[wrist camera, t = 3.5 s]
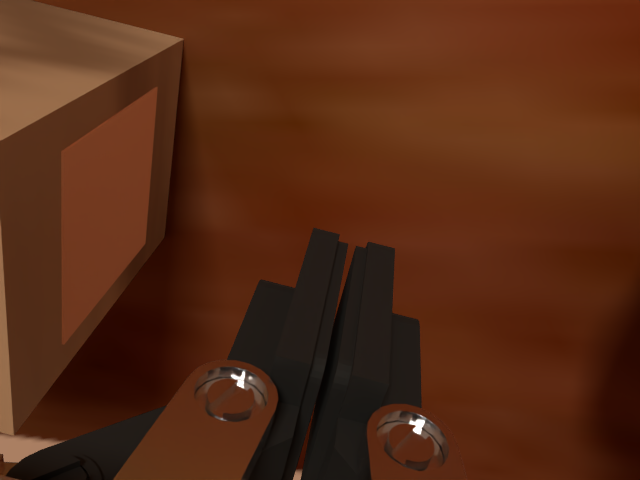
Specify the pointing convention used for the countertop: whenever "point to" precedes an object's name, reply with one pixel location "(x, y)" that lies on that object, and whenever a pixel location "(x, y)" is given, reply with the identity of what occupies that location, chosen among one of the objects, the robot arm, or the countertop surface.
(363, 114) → the countertop surface
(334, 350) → the robot arm
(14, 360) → the block
